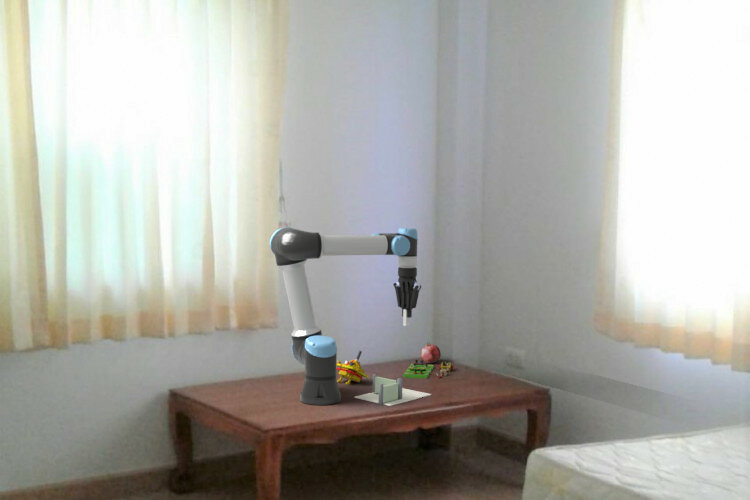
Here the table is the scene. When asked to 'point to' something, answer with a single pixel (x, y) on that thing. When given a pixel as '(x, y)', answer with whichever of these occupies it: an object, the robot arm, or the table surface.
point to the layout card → (406, 396)
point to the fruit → (430, 353)
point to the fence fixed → (390, 391)
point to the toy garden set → (426, 369)
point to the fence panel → (381, 382)
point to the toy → (351, 370)
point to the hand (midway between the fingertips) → (406, 325)
